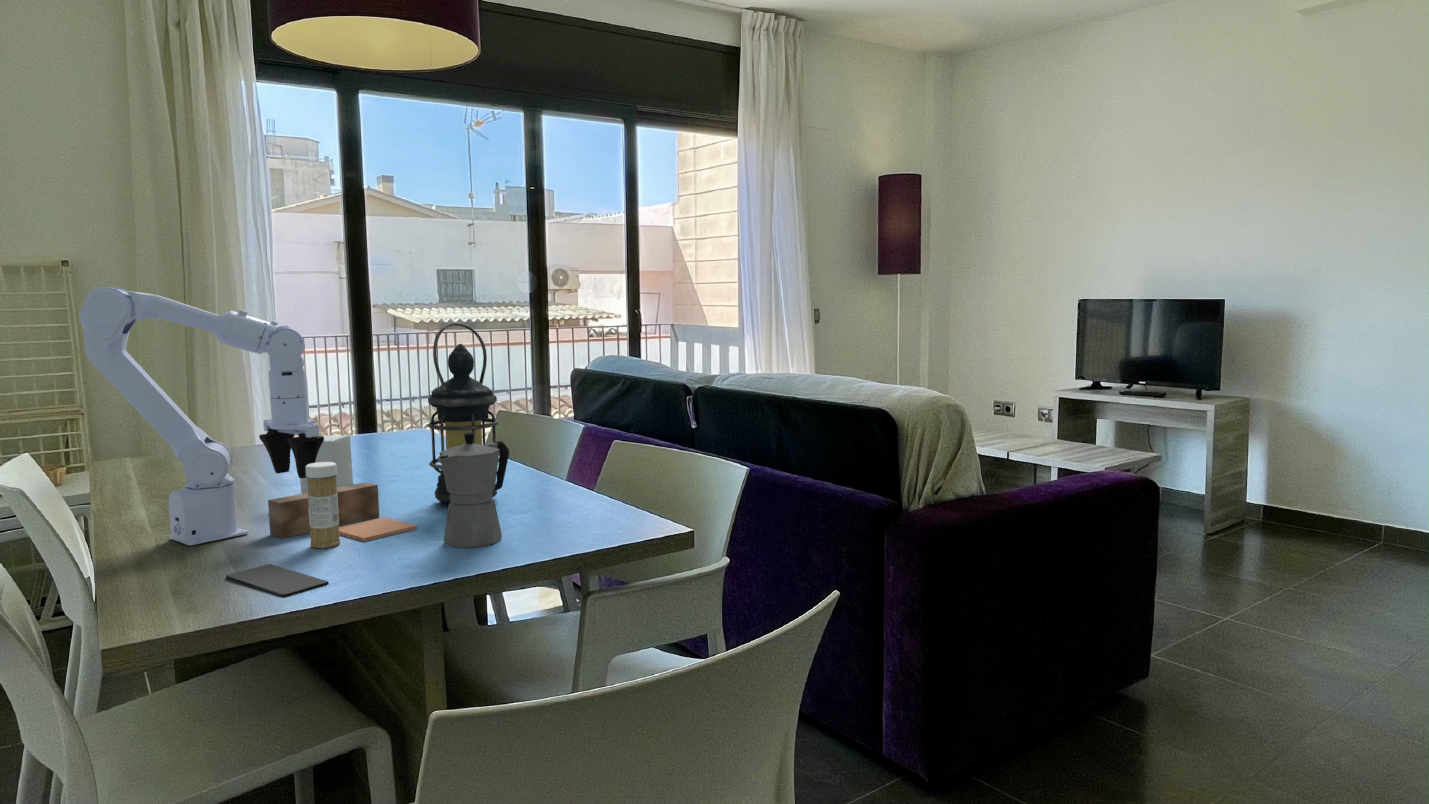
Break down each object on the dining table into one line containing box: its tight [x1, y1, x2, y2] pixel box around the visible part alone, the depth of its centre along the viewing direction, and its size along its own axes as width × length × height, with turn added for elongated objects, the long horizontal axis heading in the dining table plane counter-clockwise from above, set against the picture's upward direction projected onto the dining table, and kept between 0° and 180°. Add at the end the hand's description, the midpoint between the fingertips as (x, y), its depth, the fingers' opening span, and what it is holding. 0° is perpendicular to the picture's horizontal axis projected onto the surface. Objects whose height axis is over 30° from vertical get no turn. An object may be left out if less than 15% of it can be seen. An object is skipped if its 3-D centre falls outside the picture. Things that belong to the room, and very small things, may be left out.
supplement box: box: [299, 435, 354, 494], centre depth 176 cm, size 7×7×13 cm
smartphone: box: [225, 563, 329, 598], centre depth 125 cm, size 7×1×15 cm
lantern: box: [427, 322, 499, 504], centre depth 172 cm, size 14×13×35 cm
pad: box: [339, 516, 418, 542], centre depth 153 cm, size 10×10×1 cm
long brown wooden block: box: [267, 482, 380, 539], centre depth 156 cm, size 18×4×6 cm, turn 143°
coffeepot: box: [436, 432, 510, 549], centre depth 146 cm, size 15×9×18 cm, turn 150°
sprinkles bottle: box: [305, 462, 341, 549], centre depth 143 cm, size 5×5×13 cm
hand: (293, 474), depth 154 cm, fingers open, 7 cm apart
